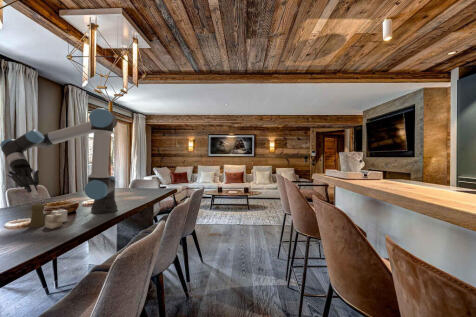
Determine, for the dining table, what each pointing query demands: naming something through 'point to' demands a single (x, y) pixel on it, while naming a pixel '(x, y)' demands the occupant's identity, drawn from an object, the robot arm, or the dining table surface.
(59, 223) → the birch block numbered 1
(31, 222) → the olive green tall block
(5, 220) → the dining table surface
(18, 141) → the robot arm
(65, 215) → the cream block numbered 7
